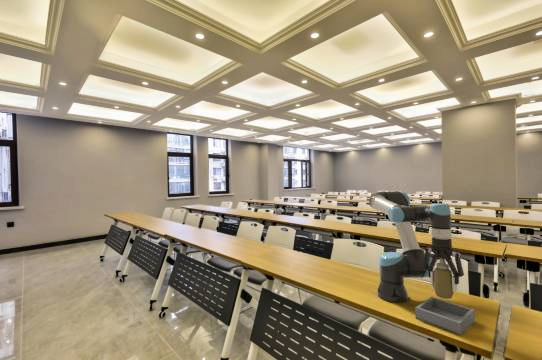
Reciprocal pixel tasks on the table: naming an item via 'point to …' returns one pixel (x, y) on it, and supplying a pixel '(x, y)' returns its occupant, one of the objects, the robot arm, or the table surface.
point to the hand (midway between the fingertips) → (443, 288)
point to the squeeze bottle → (443, 280)
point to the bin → (445, 315)
